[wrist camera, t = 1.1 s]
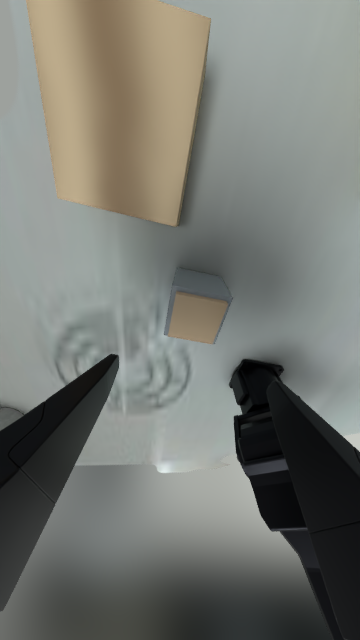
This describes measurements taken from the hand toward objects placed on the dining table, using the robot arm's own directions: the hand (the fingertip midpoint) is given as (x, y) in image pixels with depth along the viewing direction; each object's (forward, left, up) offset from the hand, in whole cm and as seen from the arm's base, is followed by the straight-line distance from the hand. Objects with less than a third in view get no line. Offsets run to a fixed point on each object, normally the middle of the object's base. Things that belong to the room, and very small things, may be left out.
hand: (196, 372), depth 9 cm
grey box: (0, 0, -12) cm, 12 cm away
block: (+7, -11, -12) cm, 18 cm away
